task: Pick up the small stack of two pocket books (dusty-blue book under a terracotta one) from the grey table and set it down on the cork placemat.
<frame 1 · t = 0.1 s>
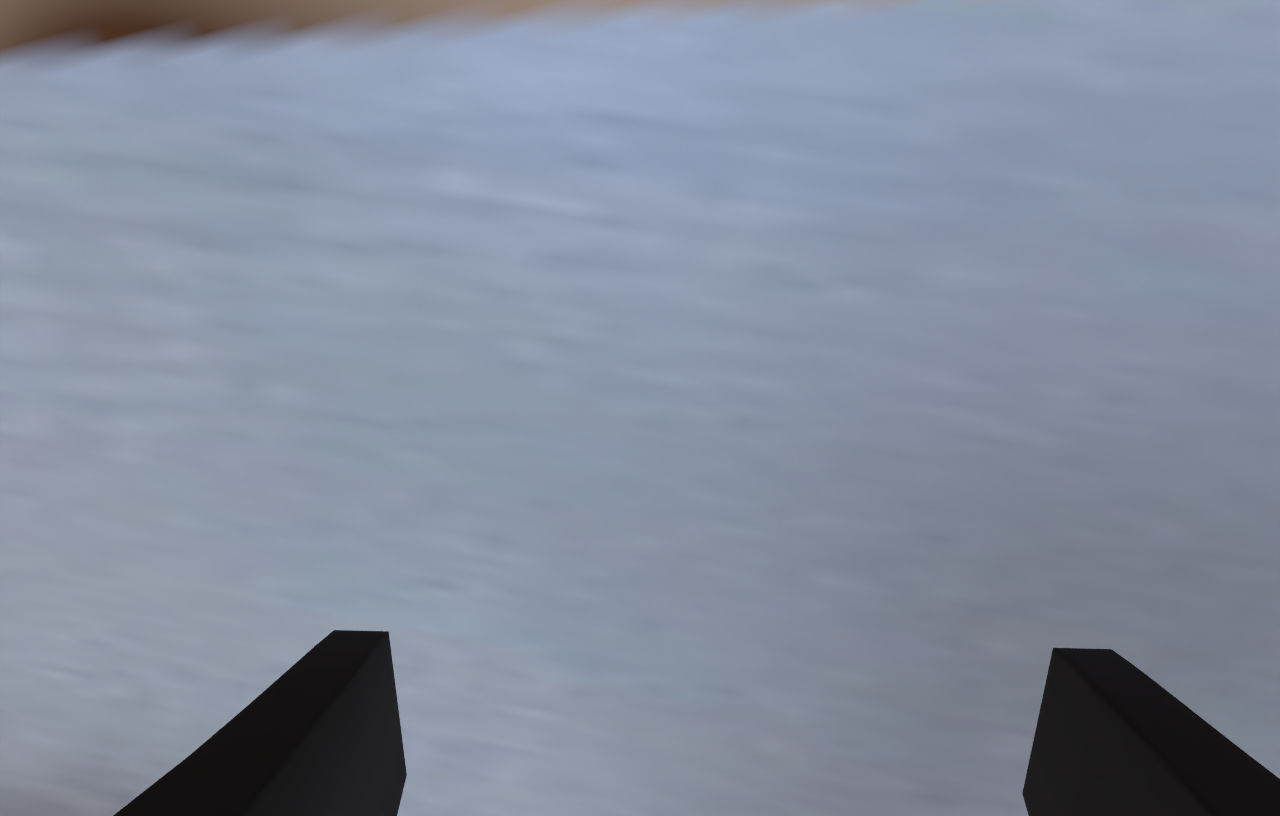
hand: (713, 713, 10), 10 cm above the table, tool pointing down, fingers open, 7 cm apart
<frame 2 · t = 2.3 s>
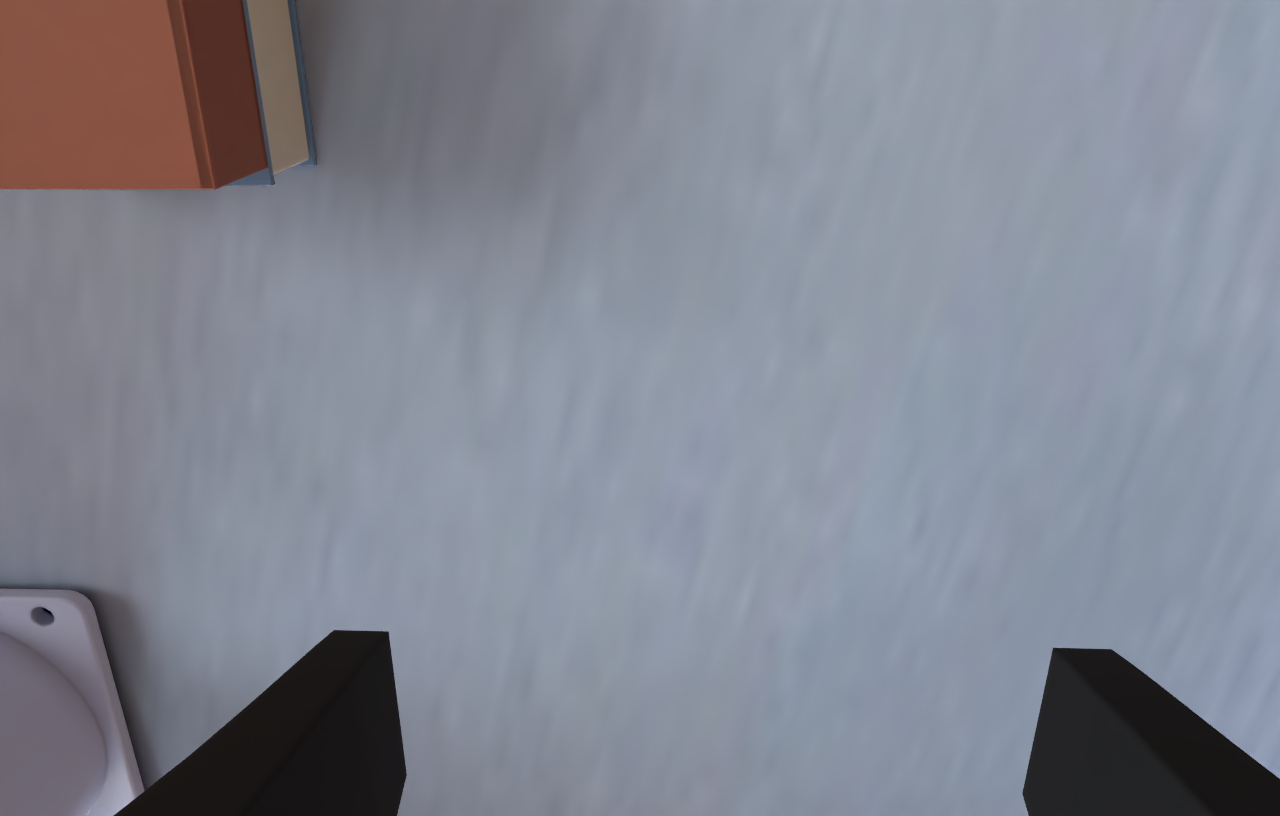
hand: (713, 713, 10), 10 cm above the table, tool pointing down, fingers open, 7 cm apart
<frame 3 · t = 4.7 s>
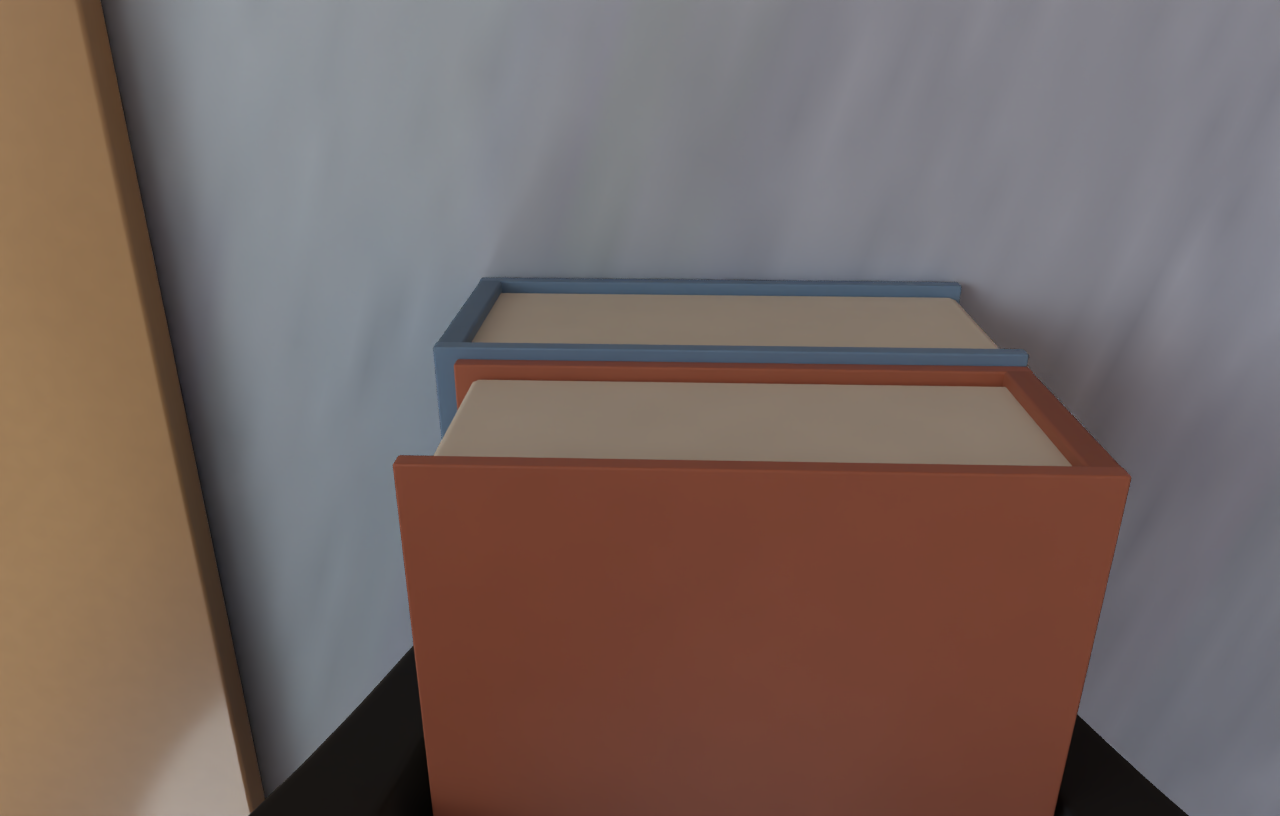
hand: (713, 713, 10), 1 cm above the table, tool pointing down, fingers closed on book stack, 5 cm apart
book stack: (706, 632, 12), on the table, touching gripper
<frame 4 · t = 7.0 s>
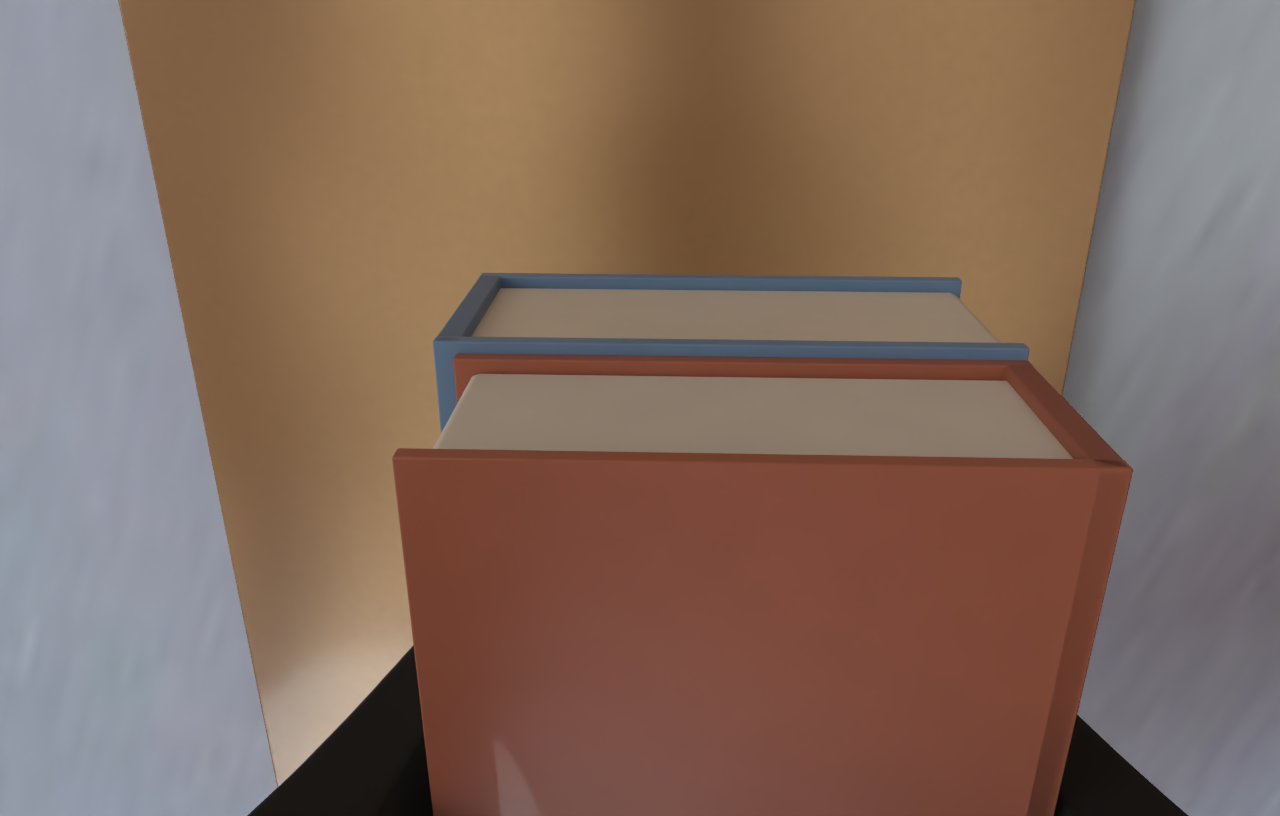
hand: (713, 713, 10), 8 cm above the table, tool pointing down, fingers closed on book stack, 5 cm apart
book stack: (706, 628, 12), point 7 cm above the table, touching gripper
cork mat: (623, 411, 18), on the table
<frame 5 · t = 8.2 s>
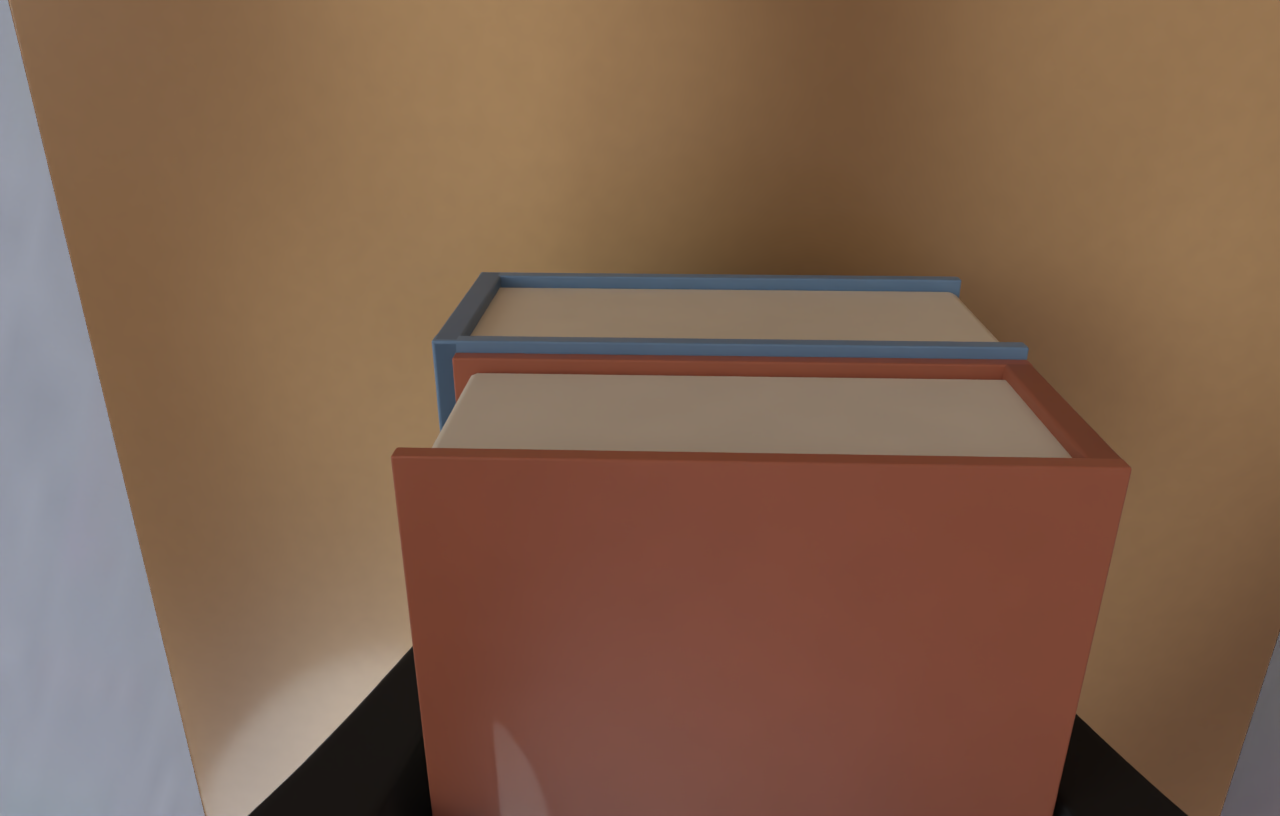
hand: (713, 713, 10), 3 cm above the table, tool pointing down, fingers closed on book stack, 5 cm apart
book stack: (705, 628, 12), point 2 cm above the table, touching gripper
cork mat: (706, 550, 14), on the table
when the fingers open (2 cm above the table, at t = 9.2 s): book stack stays where it is, resting on cork mat.
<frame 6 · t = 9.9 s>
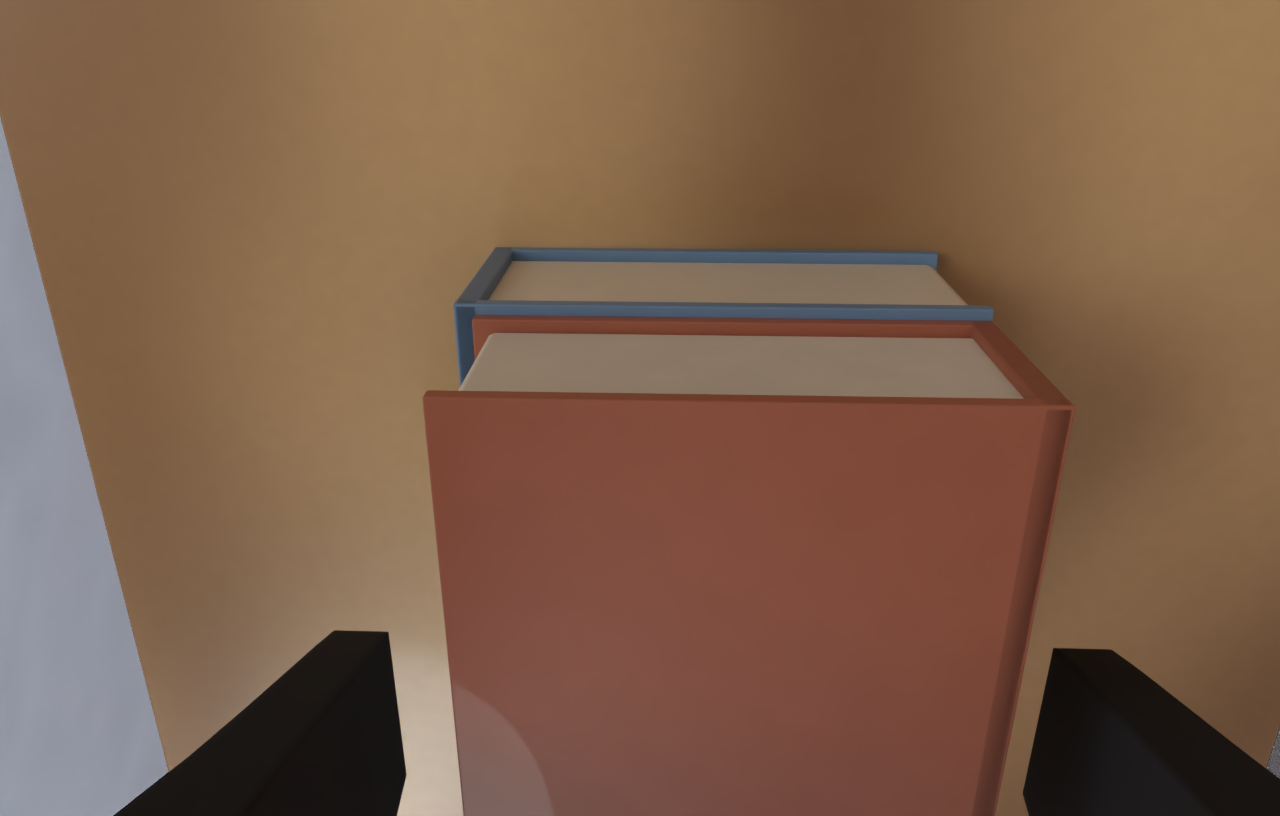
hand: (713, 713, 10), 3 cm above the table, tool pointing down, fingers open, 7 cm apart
book stack: (703, 583, 13), resting on cork mat
cork mat: (706, 571, 13), on the table
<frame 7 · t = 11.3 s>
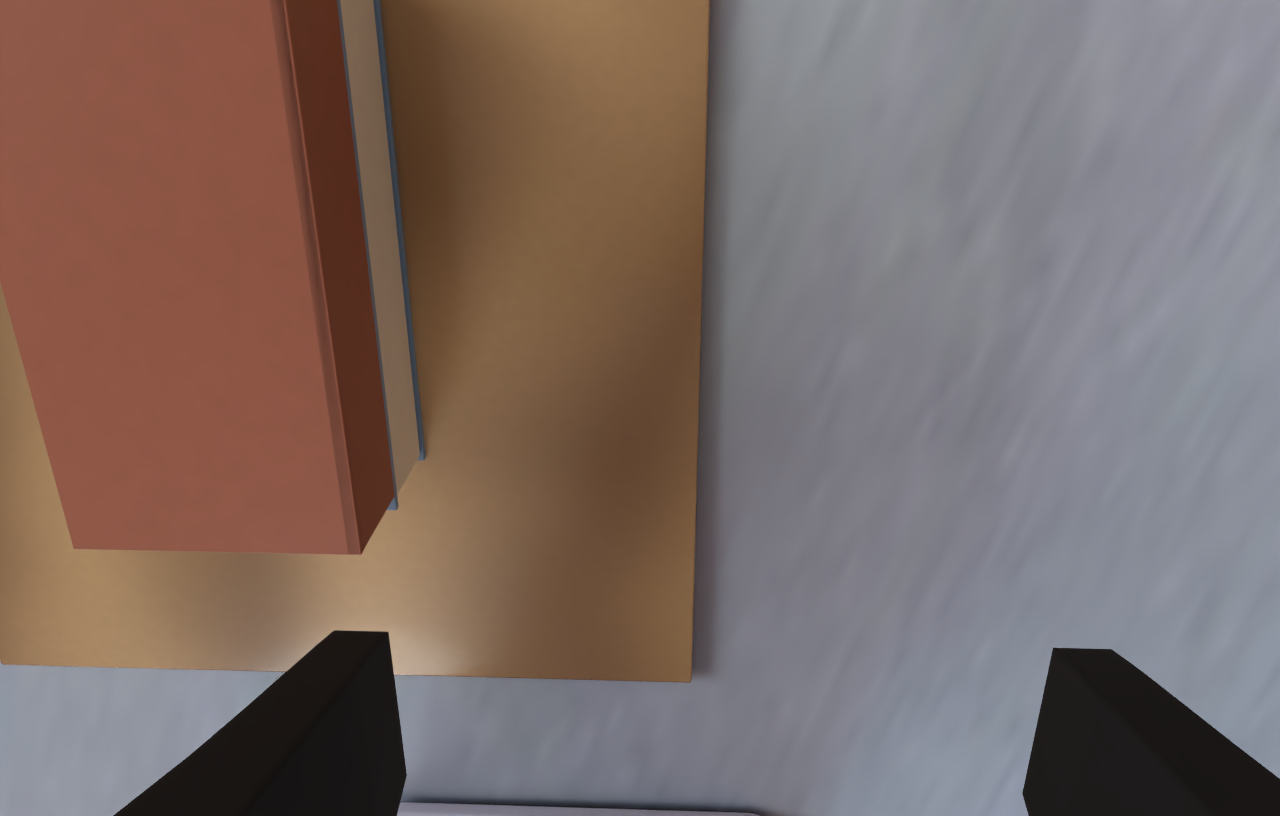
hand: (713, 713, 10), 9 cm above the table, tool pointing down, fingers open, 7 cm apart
book stack: (272, 239, 18), resting on cork mat
cork mat: (283, 238, 18), on the table
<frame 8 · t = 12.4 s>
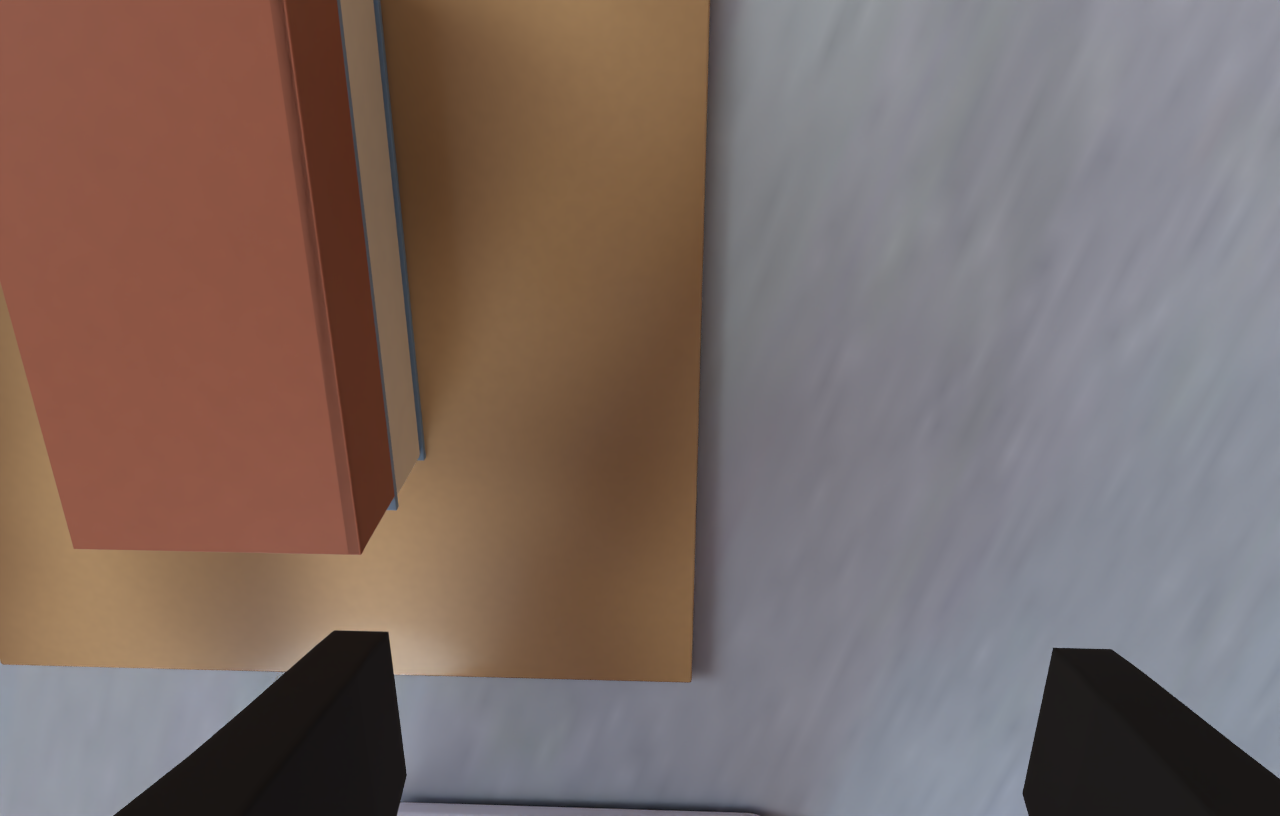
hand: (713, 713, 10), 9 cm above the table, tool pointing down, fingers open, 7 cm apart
book stack: (272, 239, 18), resting on cork mat
cork mat: (283, 238, 18), on the table
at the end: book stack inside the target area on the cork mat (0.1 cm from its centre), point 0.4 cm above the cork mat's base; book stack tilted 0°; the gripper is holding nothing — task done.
